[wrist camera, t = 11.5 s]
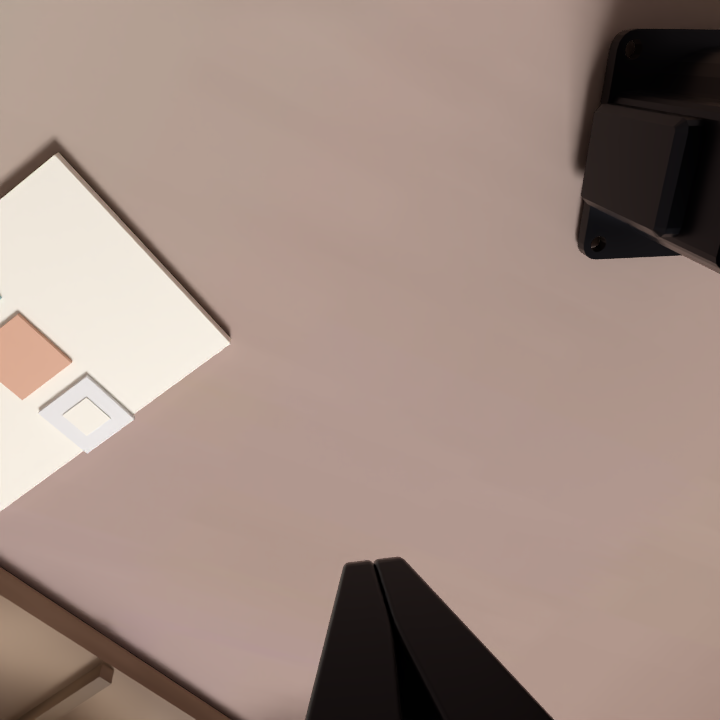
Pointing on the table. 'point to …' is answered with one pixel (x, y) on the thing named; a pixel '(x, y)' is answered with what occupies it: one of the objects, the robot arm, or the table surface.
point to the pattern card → (82, 326)
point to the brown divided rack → (77, 668)
